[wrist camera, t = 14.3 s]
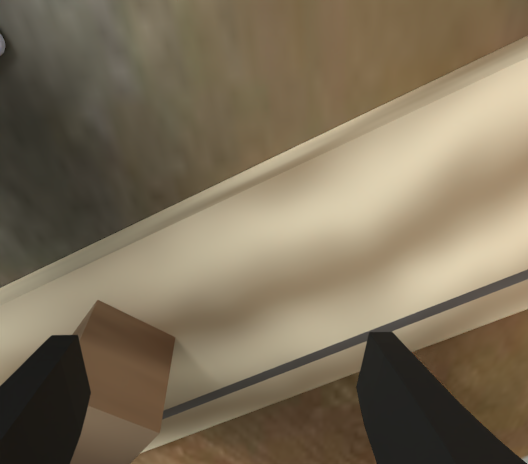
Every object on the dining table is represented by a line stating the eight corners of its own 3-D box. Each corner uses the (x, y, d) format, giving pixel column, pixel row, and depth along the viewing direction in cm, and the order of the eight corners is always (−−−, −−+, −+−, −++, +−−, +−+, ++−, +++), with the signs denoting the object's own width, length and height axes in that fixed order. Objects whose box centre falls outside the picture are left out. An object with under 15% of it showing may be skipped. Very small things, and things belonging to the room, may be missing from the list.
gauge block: (97, 299, 18) (56, 393, 14) (175, 337, 20) (159, 433, 16) (25, 398, 21) (-28, 502, 17) (98, 425, 23) (66, 527, 18)
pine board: (-49, 311, 21) (-75, 340, 19) (567, 16, 16) (609, 19, 14) (100, 440, 26) (91, 471, 25) (587, 252, 21) (618, 275, 20)
